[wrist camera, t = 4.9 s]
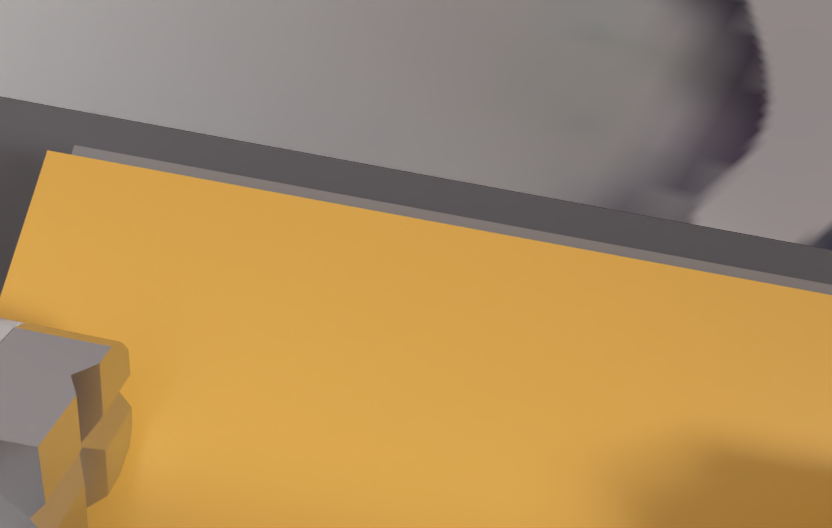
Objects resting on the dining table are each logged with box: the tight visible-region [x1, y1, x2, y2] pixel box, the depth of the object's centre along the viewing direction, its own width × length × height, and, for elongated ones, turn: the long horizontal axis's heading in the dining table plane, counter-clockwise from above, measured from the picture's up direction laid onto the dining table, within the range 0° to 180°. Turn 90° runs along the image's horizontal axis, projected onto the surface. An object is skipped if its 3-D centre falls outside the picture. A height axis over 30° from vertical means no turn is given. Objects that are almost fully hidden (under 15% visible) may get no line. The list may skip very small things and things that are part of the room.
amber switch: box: [0, 150, 832, 528], centre depth 10 cm, size 12×5×2 cm, turn 80°
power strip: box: [0, 97, 832, 296], centre depth 14 cm, size 30×9×8 cm, turn 80°
